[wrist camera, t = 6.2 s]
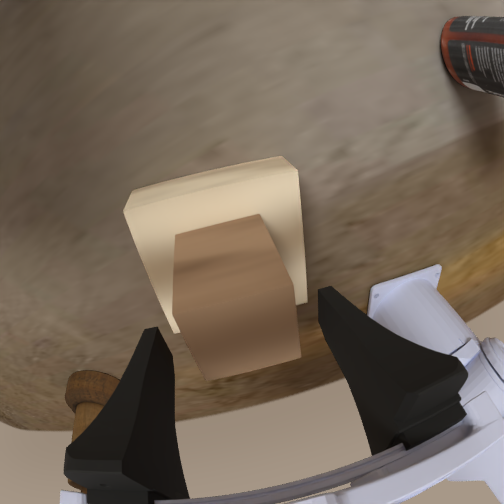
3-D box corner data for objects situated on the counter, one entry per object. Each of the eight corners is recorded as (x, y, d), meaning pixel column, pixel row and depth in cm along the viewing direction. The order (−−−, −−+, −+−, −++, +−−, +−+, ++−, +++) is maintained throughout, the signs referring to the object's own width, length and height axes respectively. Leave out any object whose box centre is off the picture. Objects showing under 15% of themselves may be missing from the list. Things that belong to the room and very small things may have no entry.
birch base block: (294, 275, 23) (307, 302, 20) (174, 303, 22) (174, 333, 19) (281, 155, 18) (297, 170, 15) (132, 190, 17) (122, 210, 14)
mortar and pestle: (104, 364, 24) (95, 559, 9) (141, 398, 28) (149, 564, 13) (56, 375, 24) (35, 543, 9) (94, 407, 28) (89, 555, 13)
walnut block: (271, 280, 19) (301, 357, 14) (198, 298, 18) (205, 381, 13) (259, 213, 16) (293, 284, 11) (175, 234, 16) (172, 314, 11)
